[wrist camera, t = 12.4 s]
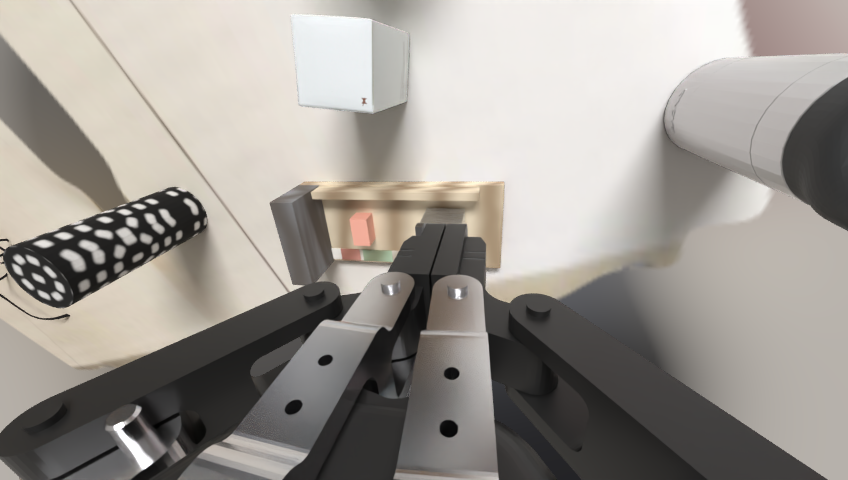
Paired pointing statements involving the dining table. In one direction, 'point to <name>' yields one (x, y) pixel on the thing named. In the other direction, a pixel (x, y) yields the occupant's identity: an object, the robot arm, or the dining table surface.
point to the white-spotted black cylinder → (103, 246)
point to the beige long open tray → (376, 220)
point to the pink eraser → (362, 229)
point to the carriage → (440, 217)
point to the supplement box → (349, 63)
